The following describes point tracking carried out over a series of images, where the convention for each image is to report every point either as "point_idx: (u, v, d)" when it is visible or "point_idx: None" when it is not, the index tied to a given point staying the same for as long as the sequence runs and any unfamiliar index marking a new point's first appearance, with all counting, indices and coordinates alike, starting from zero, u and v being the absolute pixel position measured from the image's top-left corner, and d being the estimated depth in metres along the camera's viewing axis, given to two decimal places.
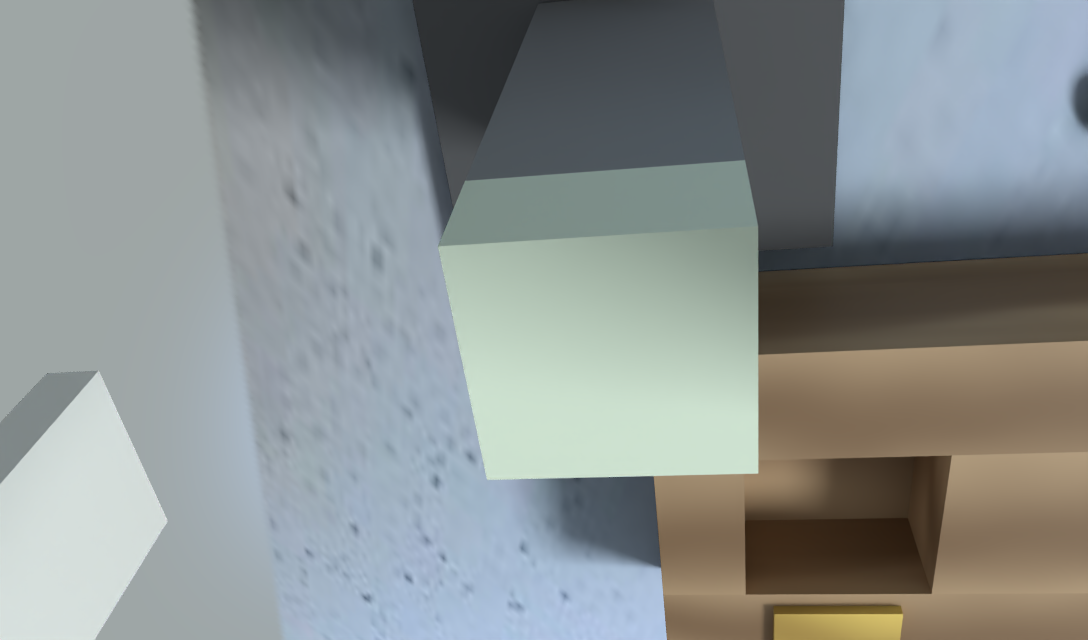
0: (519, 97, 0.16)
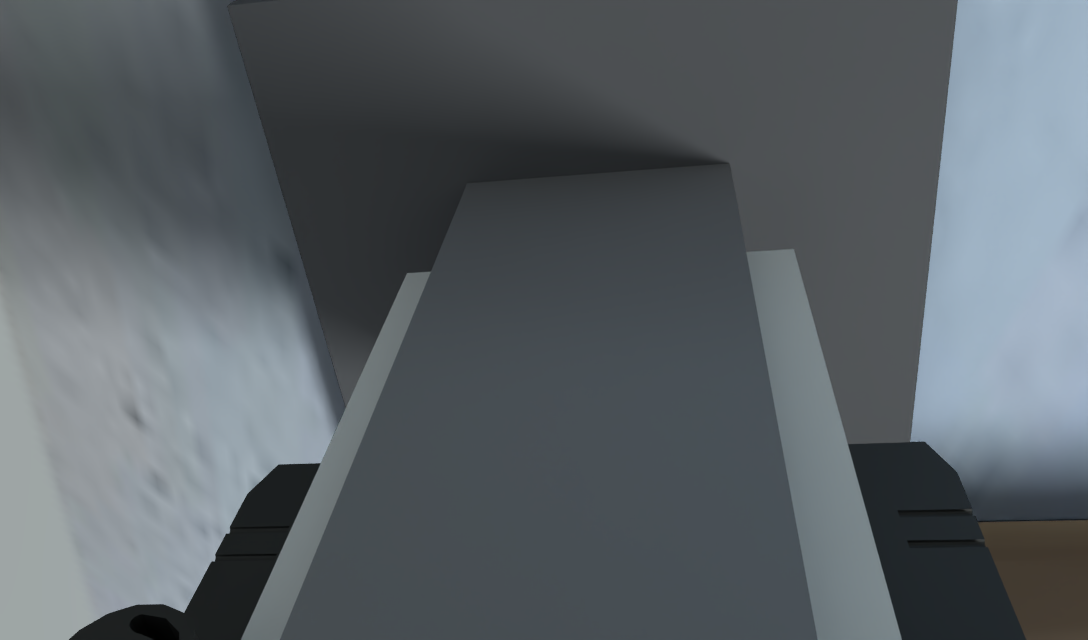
0: (390, 462, 0.09)
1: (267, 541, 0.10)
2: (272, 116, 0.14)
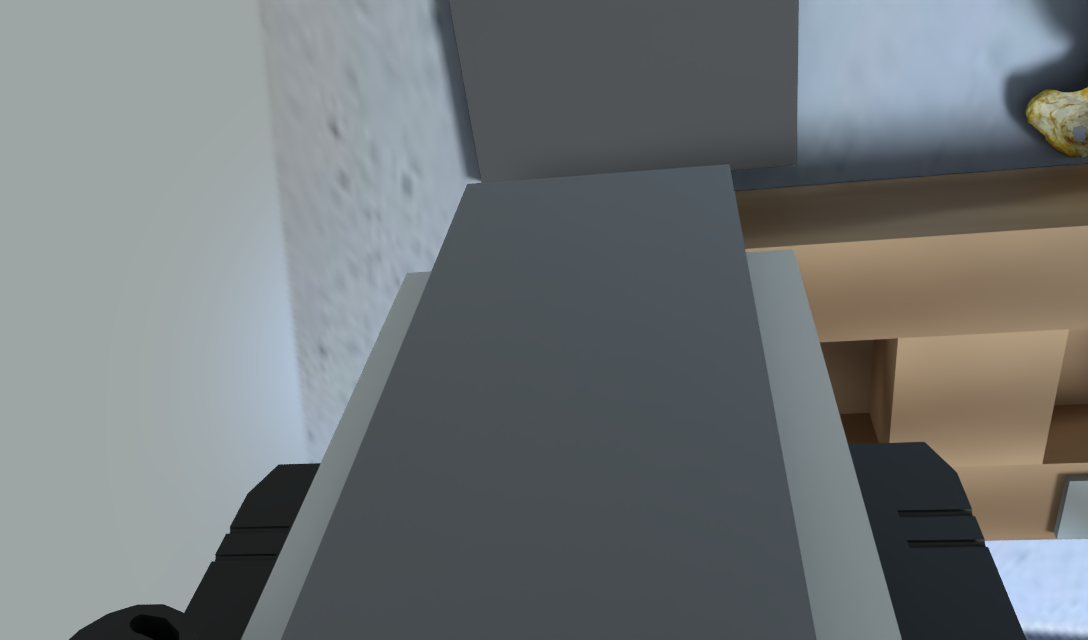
0: (390, 463, 0.09)
1: (267, 541, 0.10)
2: None
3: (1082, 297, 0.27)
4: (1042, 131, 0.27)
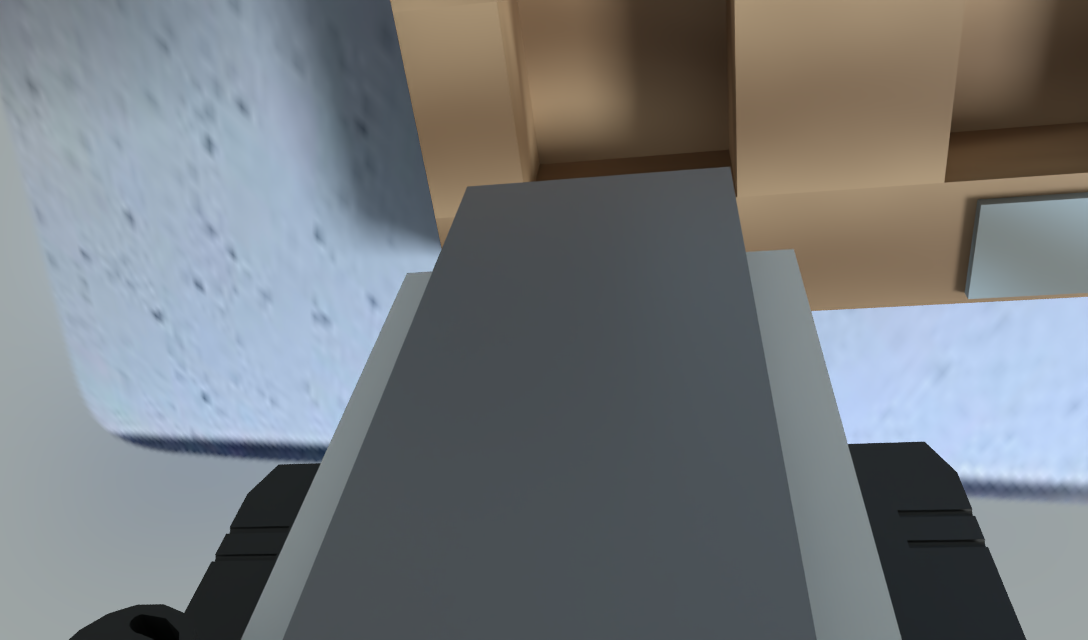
0: (389, 467, 0.09)
1: (267, 541, 0.10)
2: None
3: None
4: None
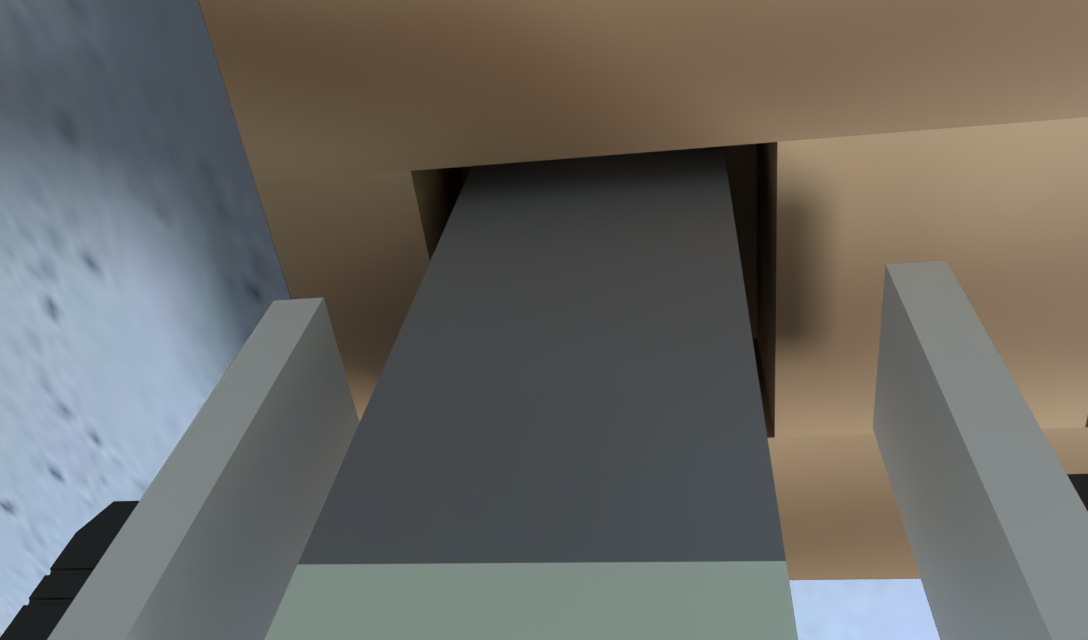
0: (428, 337, 0.11)
1: (83, 584, 0.10)
2: None
3: None
4: None
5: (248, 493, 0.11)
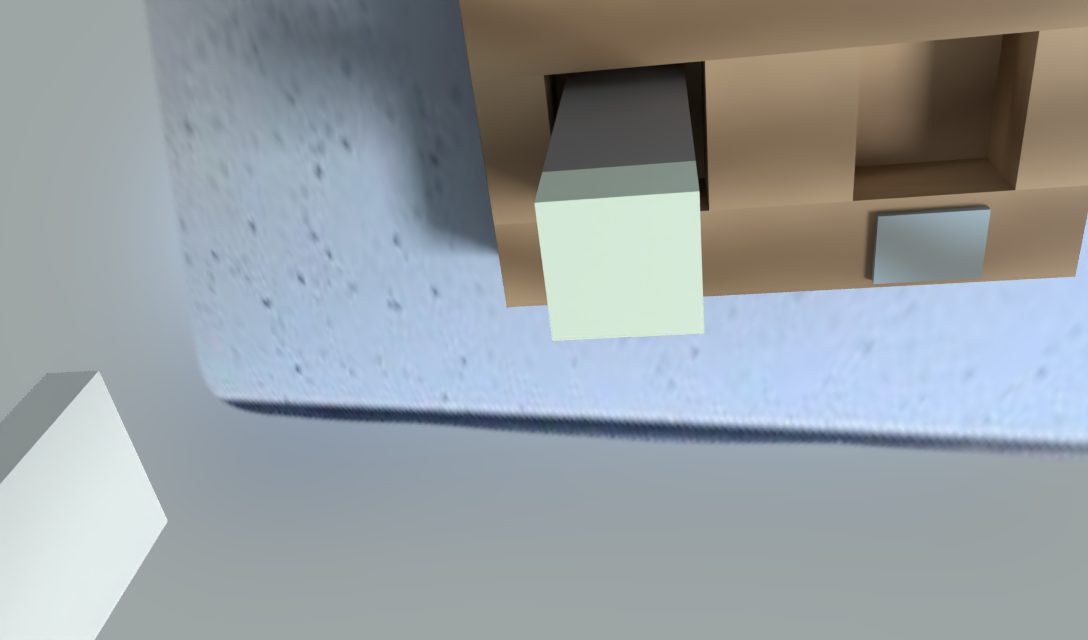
0: (566, 127, 0.27)
1: None
2: None
3: (870, 11, 0.28)
4: None
5: None
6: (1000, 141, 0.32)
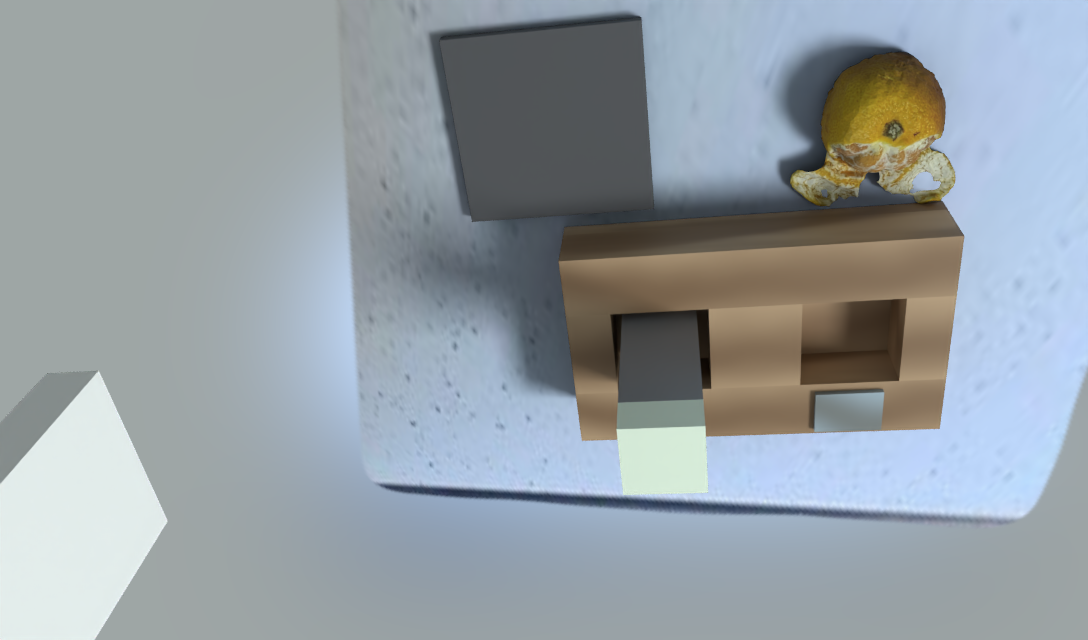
0: (627, 360, 0.47)
1: None
2: (449, 73, 0.47)
3: (806, 286, 0.47)
4: (799, 192, 0.48)
5: None
6: (892, 346, 0.51)
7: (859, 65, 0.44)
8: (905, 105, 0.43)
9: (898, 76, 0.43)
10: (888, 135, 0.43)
